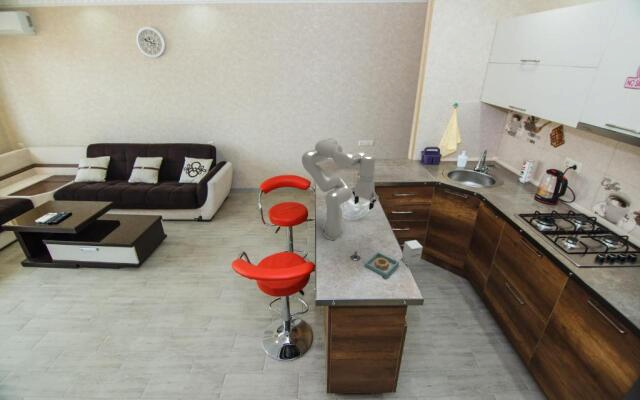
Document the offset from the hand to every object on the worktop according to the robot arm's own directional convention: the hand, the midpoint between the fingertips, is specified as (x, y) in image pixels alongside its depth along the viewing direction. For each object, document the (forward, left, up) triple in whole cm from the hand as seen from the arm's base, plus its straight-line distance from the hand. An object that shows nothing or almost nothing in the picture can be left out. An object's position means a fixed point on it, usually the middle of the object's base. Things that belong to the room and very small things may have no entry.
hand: (363, 205), depth 170 cm
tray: (+18, -5, -30) cm, 36 cm away
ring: (+18, -5, -30) cm, 35 cm away
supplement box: (+28, +10, -31) cm, 43 cm away
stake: (+3, -9, -30) cm, 32 cm away
